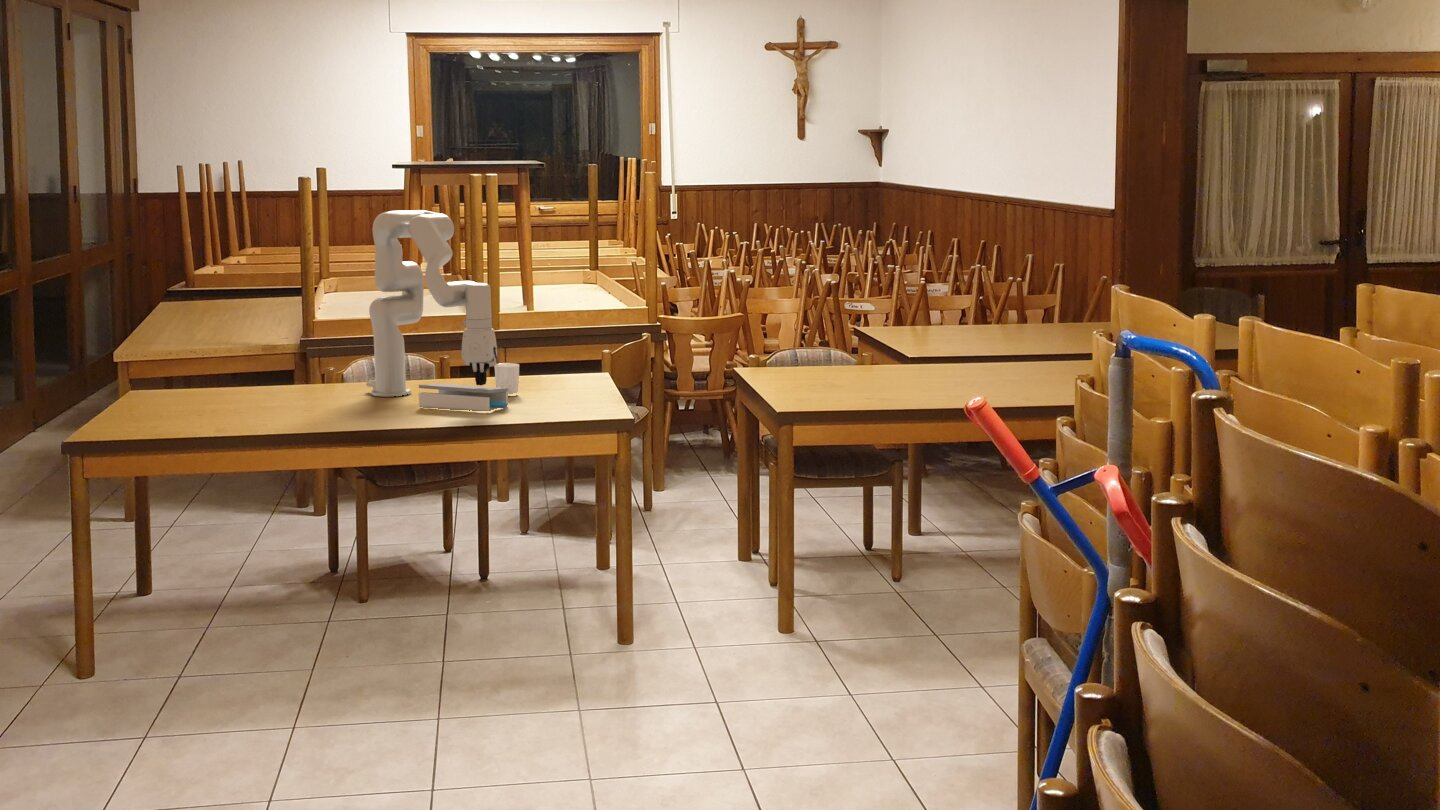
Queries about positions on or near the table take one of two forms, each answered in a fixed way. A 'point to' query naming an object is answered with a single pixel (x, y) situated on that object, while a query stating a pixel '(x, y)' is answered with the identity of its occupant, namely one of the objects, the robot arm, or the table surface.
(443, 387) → the cover
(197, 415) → the table surface
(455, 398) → the pale long box
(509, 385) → the white cup
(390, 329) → the robot arm
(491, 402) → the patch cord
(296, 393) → the table surface
